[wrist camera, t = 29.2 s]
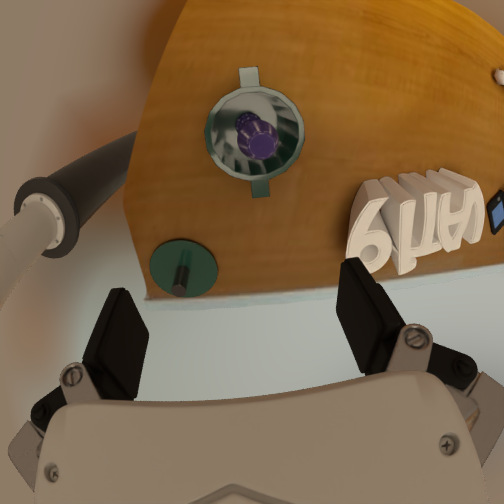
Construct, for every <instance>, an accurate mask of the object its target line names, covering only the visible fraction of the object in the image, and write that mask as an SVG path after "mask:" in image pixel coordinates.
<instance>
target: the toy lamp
mask: <svg viewBox="0 0 504 504" xmlns="http://www.w3.org/2000/svg"><path fill="white" fill-rule="evenodd" d="M235 129H236V131H237V133H238V136H237V144H238V147H239V149H240V151H241V152H242V153H243V154H244V155H245V156H247V157H249V158H251V159H256V160H264V159H267V158H269V157H271V156H272V155H273V154H274V153H275V151H276V149H277V146H278V142H279V137H278V133H277V131H276V129H275V128H274V127H273V126H272V125H271V124H270V123H268V122H266V121H264V120H261V119H260V117H259V116H258V115H256V114H254V113H251V112H247V113H244V114H242V115H240V116H239V117H238V118H237V120H236V123H235Z"/></svg>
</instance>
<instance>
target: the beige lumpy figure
mask: <svg viewBox="0 0 504 504" xmlns="http://www.w3.org/2000/svg"><path fill="white" fill-rule="evenodd" d="M494 78H495V79H496V81H497V83H500V84H502V85H504V71H503V70H498V69H497V71H496V72H495V74H494ZM500 84H499V85H500Z"/></svg>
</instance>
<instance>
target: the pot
mask: <svg viewBox="0 0 504 504" xmlns="http://www.w3.org/2000/svg"><path fill="white" fill-rule="evenodd" d="M238 72H239V80H240V88H238V89H236V90H235V91H233V92H231V93H229V94H227V95H225V96H223V97H222V98H221V99H220V100H219V101H218V103H217V104H216V105H215V106H214V107H213V109H212V110H211V111H210V113H209V116H208V119H207V123H206V126H205V130H204V133H205V140H206V147H207V151H208V152H209V154H210V156H211V157H212V159H213V160H214V162H215V164H216V165H217V166H218V167H219V168H221V169H222V170H223V171H225V172H226V173H228V174H229V175H230V176H232V177H235V178H239V179H243V180H247V181H250V182H251V192H252V198H260V197H269V196H270V194H269V181H268V180H269V179H271V178H273V177H275V176H277V175H279V174H281V173H283V172H285V171H287V170H288V168H289V167H290V166H291V165H292V164H293V163H294V162H295V161H296V160H297V159H298V157H299V155H300V152H301V149H302V147H303V144H304V141H305V132H304V122H303V119H302V117H301V115H300V113H299V111H298V109H297V107H296V105H295V104H294V103H293V102H292V101H291V100H289V99H288V98H287V97H286V96H285V95H284V94H282V93H281V92H279V91H276V90H273V89H270V88H267V87H263V86H260V82H259V73H258V66H256V67H244V68H238ZM247 112H251V113H254V114H256V115H258V116H259V117H260V119H261V120H264V121H266V122H268V123H270V124H271V125H272V126H273V127H274V128H275V129H276V131H277V133H278V137H279V142H278V146H277V149H276V151H275V153H274V154H273V155H272V156H271V157H269V158H267V159H264V160H256V159H251V158H249V157H247V156H245V155H244V154H243V153H242V152H241V151H240V149H239V147H238V144H237V136H238V133H237V131H236V129H235V123H236V120H237V118H238V117H239V116H240V115H242V114H244V113H247Z"/></svg>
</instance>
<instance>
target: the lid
mask: <svg viewBox="0 0 504 504" xmlns="http://www.w3.org/2000/svg"><path fill="white" fill-rule="evenodd" d="M150 273H151V276H152V278H153V280H154V281H155V283H156V284H157V285H158V286H159V287H160V288H161V289H163V290H164V291H166V292H167V293H169V294H172V295H175V296H177V297H195V296H199V295H201V294H204V293H205V292H207V291H208V290H209V289H210V288H211V287H212V286H213V285H214V283H215V281H216V279H217V273H218V269H217V264H216V261H215V259H214V257H213V256H212V254H211V253H210V252H209V251H208V250H207V249H206V248H204V247H203V246H201V245H199V244H197V243H195V242H192V241H188V240H173V241H169V242H166V243H164V244H162V245H161V246H159V247H158V248H157V249H156V250H155V251H154V253H153V255H152V257H151V260H150Z"/></svg>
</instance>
